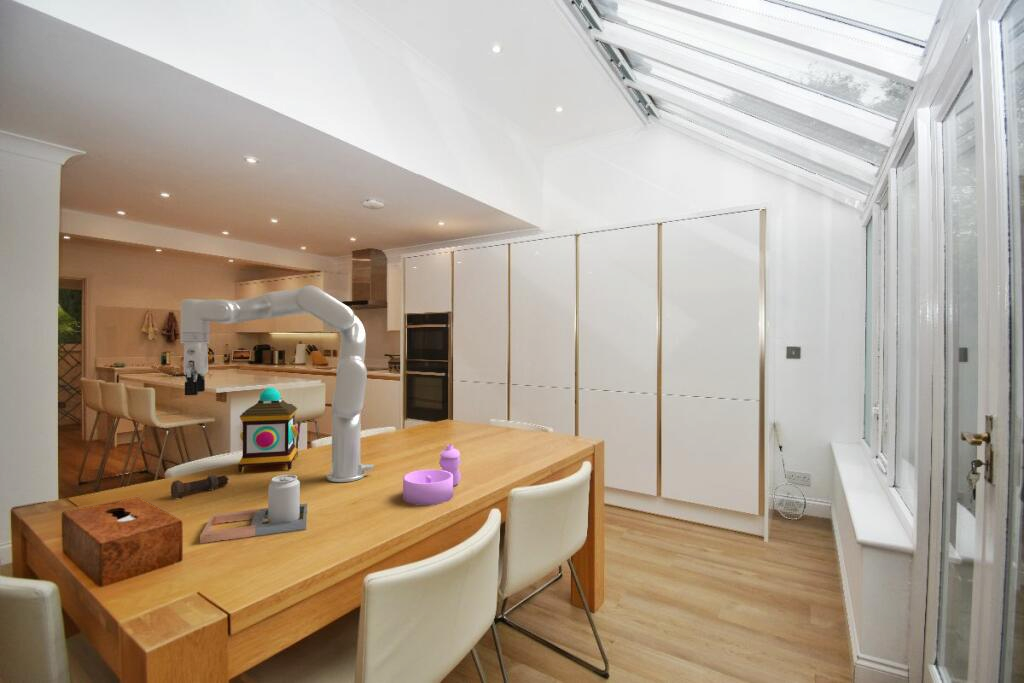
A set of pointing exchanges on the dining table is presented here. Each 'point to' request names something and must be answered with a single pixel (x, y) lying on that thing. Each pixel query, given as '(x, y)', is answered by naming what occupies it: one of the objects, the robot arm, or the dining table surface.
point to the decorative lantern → (268, 432)
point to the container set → (433, 481)
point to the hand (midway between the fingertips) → (195, 393)
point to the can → (283, 499)
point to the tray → (253, 530)
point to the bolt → (197, 485)
